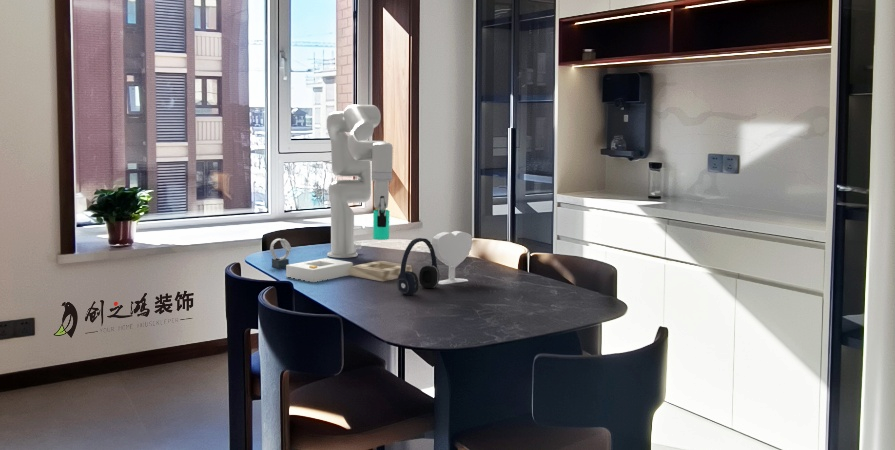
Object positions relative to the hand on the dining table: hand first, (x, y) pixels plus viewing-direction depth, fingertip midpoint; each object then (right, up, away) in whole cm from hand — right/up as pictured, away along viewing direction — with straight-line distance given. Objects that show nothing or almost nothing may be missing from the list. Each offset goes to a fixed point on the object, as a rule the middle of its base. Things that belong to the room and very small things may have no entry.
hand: (381, 225), depth 321 cm
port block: (-23, -19, -1) cm, 29 cm away
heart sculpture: (+26, -21, -6) cm, 34 cm away
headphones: (+15, -23, -24) cm, 36 cm away
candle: (0, -5, +1) cm, 5 cm away
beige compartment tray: (0, -19, +2) cm, 19 cm away
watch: (-40, -16, +16) cm, 46 cm away
